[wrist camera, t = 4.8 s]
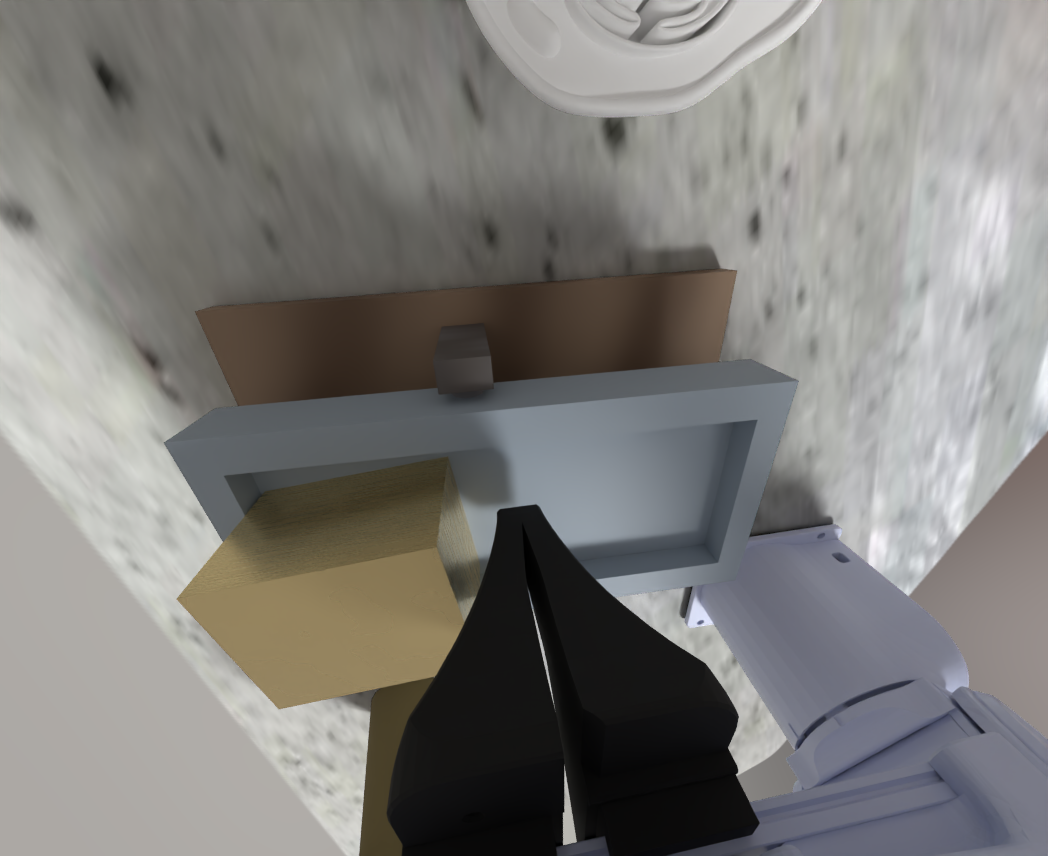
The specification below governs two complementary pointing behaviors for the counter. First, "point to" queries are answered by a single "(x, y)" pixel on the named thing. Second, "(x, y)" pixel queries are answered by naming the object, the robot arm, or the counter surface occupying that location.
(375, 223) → the counter surface
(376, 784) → the cork
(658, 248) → the counter surface
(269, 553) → the block
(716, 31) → the cell model
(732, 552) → the beam
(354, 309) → the stand
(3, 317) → the counter surface
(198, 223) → the counter surface
